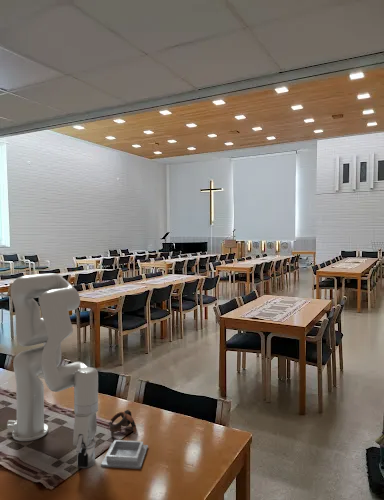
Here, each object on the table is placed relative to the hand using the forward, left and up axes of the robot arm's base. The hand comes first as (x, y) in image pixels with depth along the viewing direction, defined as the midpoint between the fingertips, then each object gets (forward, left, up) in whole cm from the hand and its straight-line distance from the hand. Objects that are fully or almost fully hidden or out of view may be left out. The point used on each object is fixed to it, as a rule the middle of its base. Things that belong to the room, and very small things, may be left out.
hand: (86, 460), depth 132 cm
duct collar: (+12, +5, -1) cm, 13 cm away
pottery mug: (+7, +22, -1) cm, 24 cm away
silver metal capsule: (0, 0, -1) cm, 1 cm away
